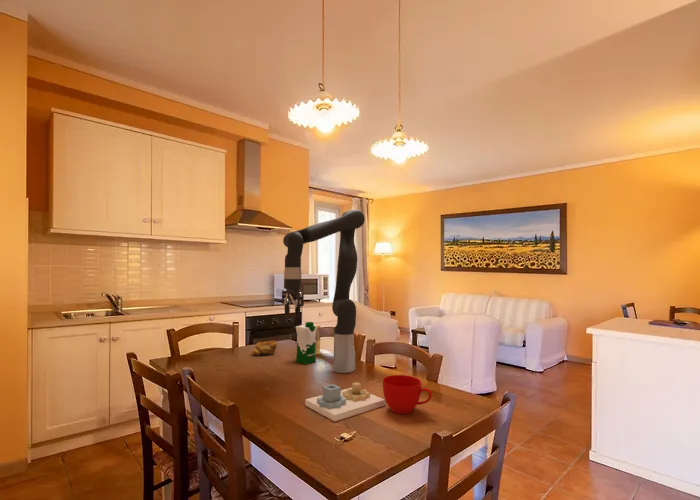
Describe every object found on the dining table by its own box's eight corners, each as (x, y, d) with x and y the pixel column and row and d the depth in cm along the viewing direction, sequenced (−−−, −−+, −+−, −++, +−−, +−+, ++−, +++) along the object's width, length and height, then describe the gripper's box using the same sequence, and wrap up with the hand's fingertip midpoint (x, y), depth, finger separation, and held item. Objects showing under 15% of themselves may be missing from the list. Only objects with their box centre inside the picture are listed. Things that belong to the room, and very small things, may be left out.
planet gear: (334, 396, 133) (334, 380, 134) (351, 404, 126) (352, 387, 126) (311, 402, 127) (311, 386, 127) (328, 411, 119) (328, 394, 120)
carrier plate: (353, 392, 144) (354, 374, 144) (384, 405, 130) (385, 385, 131) (305, 405, 130) (305, 385, 130) (334, 421, 117) (334, 399, 117)
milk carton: (306, 365, 181) (307, 324, 181) (292, 362, 186) (293, 322, 187) (318, 361, 188) (318, 322, 189) (304, 359, 193) (305, 320, 194)
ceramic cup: (424, 424, 115) (424, 391, 116) (375, 412, 124) (375, 382, 125) (437, 410, 126) (438, 381, 127) (392, 400, 135) (392, 372, 136)
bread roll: (254, 357, 195) (254, 342, 195) (249, 353, 203) (250, 339, 204) (278, 355, 201) (278, 340, 201) (272, 351, 210) (273, 337, 210)
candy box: (318, 352, 208) (318, 324, 209) (320, 354, 204) (320, 326, 205) (302, 353, 205) (303, 325, 206) (304, 355, 201) (304, 326, 202)
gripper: (309, 278, 159) (308, 316, 159) (291, 277, 170) (291, 312, 170) (294, 278, 155) (293, 317, 154) (276, 277, 165) (276, 314, 165)
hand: (292, 315), depth 162 cm, fingers open, 8 cm apart
